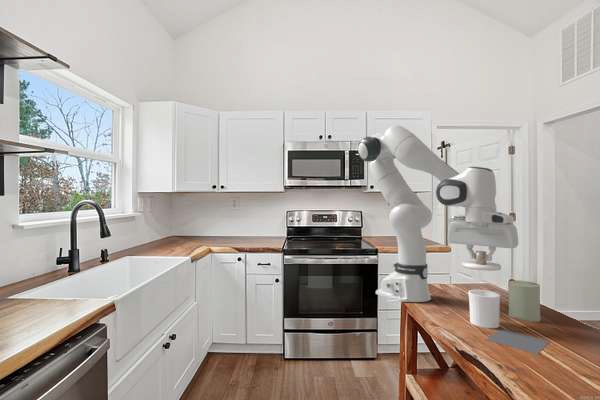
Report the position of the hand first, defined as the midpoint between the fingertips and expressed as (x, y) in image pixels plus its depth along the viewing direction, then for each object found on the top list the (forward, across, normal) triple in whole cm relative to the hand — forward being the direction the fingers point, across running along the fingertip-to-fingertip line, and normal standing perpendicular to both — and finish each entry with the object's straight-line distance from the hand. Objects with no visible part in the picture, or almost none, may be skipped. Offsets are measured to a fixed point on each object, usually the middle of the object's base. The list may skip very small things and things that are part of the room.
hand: (480, 259), depth 106 cm
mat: (+21, +12, -8) cm, 25 cm away
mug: (+21, 0, 0) cm, 21 cm away
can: (+21, +7, +18) cm, 28 cm away
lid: (+2, 0, 0) cm, 2 cm away
